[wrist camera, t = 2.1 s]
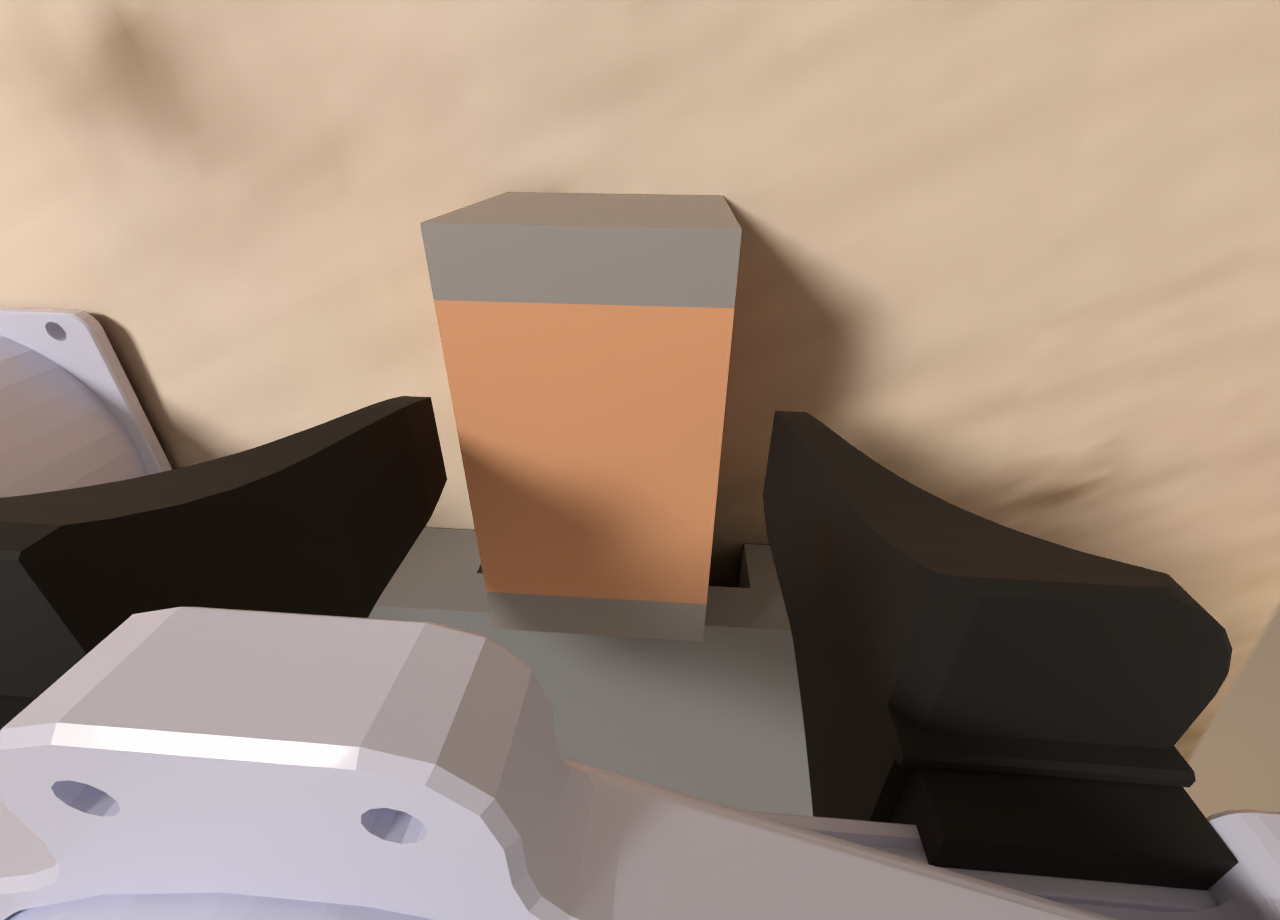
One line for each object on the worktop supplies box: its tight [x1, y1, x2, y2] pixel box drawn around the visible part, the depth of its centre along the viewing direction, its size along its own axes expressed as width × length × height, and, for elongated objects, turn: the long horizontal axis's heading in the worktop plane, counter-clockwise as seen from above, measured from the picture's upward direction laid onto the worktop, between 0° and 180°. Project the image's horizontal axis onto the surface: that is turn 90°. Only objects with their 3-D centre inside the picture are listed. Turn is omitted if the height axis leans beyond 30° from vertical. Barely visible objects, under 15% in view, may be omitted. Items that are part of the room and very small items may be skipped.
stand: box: [368, 528, 813, 816], centre depth 19 cm, size 14×9×4 cm, turn 90°
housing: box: [420, 192, 742, 641], centre depth 13 cm, size 9×5×5 cm, turn 0°
